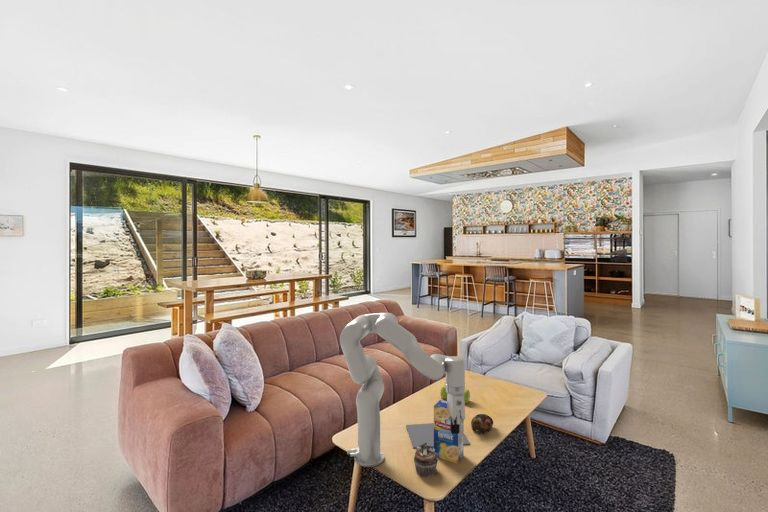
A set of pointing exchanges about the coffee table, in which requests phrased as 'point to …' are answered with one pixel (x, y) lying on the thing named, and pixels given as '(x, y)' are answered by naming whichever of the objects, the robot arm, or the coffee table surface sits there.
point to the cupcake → (425, 460)
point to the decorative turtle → (482, 423)
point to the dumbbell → (466, 394)
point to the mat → (425, 435)
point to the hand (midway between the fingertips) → (455, 432)
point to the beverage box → (447, 434)
